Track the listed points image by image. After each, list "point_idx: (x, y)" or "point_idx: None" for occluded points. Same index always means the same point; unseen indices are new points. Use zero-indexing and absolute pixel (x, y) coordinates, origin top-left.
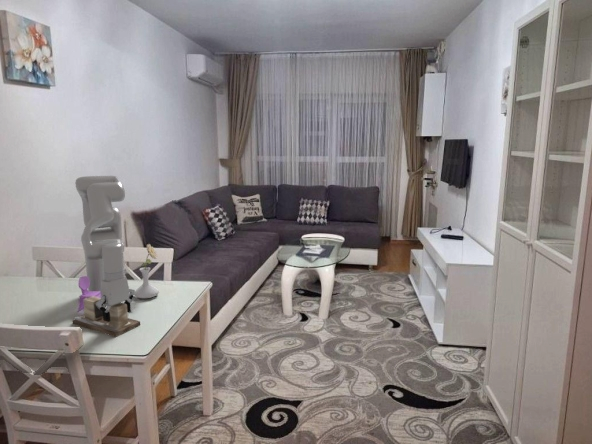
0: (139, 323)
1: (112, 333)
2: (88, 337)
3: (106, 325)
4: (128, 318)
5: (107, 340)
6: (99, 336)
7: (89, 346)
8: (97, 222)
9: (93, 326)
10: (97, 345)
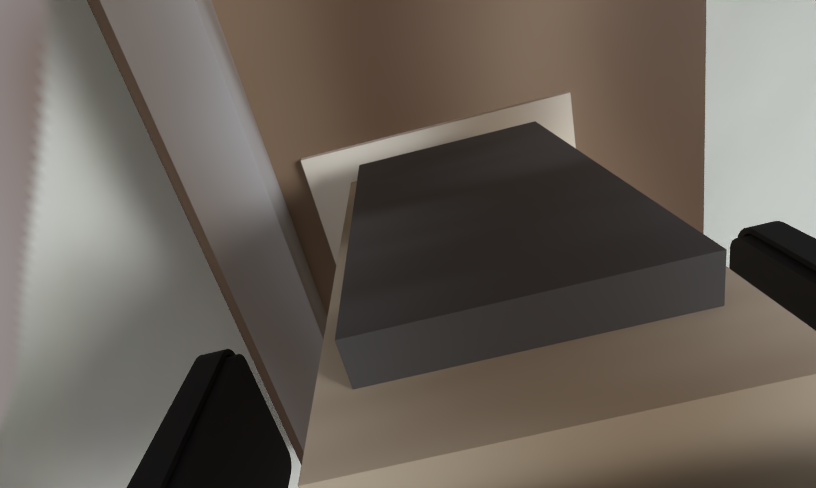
0: None
1: (292, 428)
2: (30, 240)
3: (275, 293)
4: (694, 185)
5: None
6: (167, 310)
7: (14, 452)
8: None
9: (115, 49)
10: (96, 480)
